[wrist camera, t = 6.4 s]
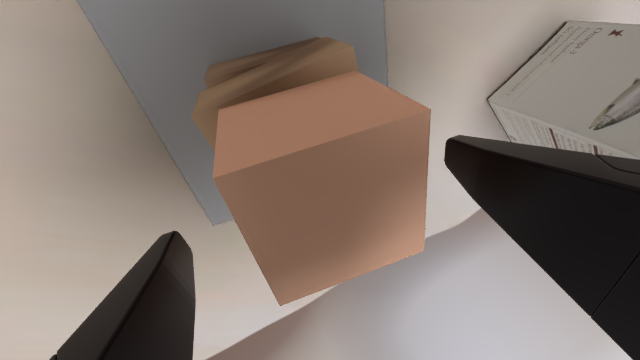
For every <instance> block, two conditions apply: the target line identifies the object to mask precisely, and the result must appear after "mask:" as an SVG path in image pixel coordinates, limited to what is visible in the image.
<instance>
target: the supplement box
mask: <svg viewBox="0 0 640 360" xmlns="http://www.w3.org/2000/svg"><path fill="white" fill-rule="evenodd" d="M488 101H489V103H490V105H491V107H492V109H493V111H494V112H495V114H496V116H497V117H498V119H499V121H500V123H501V125H502V126H503V128H504V130H505V132H506V133H507V135H508V137H509V139H510V140H511V142H513V143H521V144H528V145H535V146H542V147H550V148H557V149H564V150H571V151H579V152H586V153H592V154H601V155H608V156H615V157H623V158H631V159H639V160H640V25H637V24H620V23H603V22H584V21H569V22H568V23H566V25H565V26H564V27H563V28H562V29H561V30H560V31H559V32H558V33H557V34H556V35H555V36H554V37H553V38H552V39H551V40H550V41H549V42H548V43H547V44H546V45H545V46H544V47H543V48H542V49H541V50H540V51H539V52H538V53H537V54H536V55H535V56H534V57H533V58H532V59H531V60H530V61H529V62H528V63H526V64H525V65H524V66H523V67H522V68H521V69H520V70H519V71H518V72H517V73H516V74H515V75H514V76H513V77H512V78H511V79H510V80H508V81H507V82H506V83H505V84H504V85H503V86H502V87H501V88H500V89H499V90H498V91H496V92H495V93H494V94H493V95H492V96H491V97H490V98H489V99H488Z"/></svg>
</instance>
